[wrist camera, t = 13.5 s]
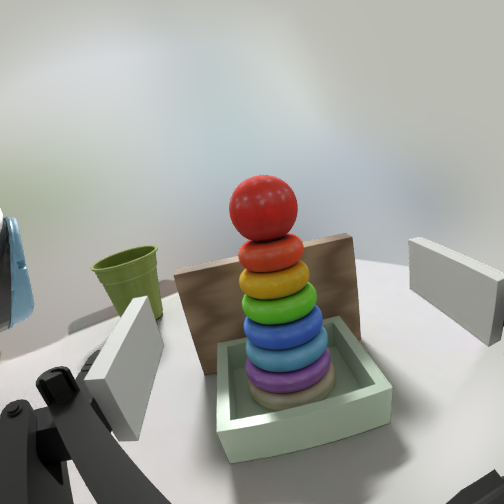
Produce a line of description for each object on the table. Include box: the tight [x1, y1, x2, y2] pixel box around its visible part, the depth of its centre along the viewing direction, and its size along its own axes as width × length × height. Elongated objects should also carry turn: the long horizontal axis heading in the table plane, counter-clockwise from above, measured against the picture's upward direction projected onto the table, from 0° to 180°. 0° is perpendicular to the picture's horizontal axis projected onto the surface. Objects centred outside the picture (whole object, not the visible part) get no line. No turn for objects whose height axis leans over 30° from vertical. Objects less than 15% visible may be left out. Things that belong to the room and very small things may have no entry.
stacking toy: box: [229, 175, 336, 411], centre depth 25 cm, size 8×8×19 cm
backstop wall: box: [174, 233, 361, 375], centre depth 34 cm, size 18×2×12 cm, turn 94°
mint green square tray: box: [217, 316, 393, 464], centre depth 27 cm, size 13×13×4 cm
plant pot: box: [90, 245, 163, 320], centre depth 51 cm, size 12×12×11 cm
